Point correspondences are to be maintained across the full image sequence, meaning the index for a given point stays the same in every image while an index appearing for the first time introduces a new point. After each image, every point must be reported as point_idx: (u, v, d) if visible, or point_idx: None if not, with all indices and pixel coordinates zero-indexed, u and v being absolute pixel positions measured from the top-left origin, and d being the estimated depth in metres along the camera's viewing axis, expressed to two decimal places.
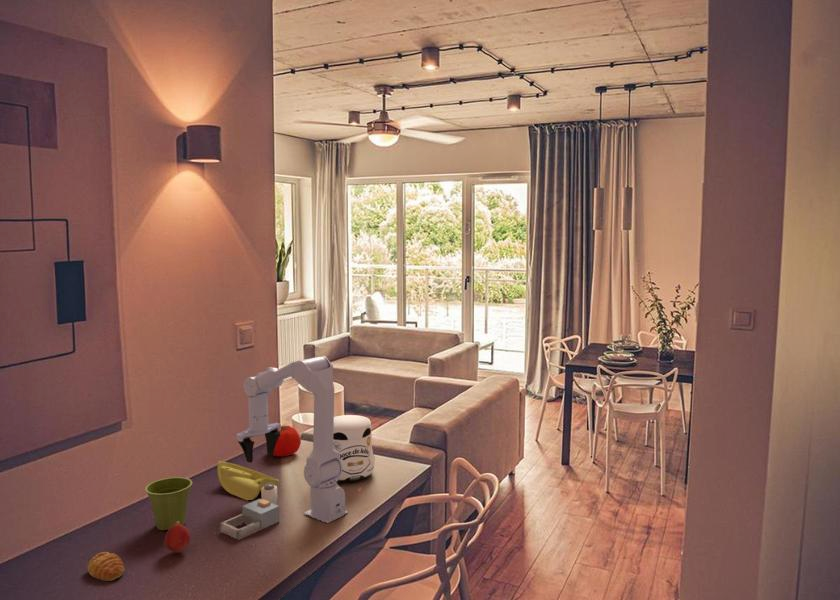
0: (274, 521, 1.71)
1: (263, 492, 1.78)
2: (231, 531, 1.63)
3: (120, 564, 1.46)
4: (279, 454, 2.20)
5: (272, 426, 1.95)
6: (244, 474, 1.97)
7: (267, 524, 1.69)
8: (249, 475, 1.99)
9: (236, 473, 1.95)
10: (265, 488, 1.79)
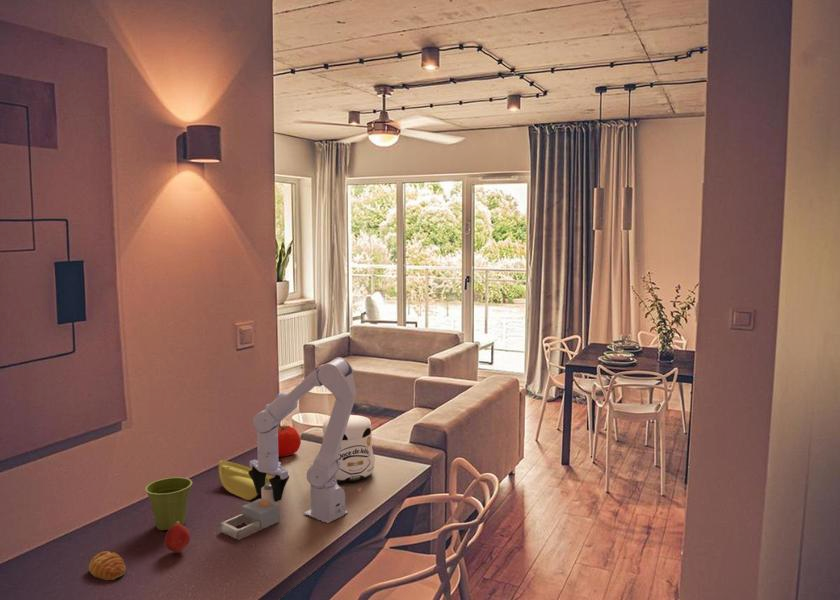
0: (274, 521, 1.71)
1: (263, 492, 1.78)
2: (231, 531, 1.63)
3: (121, 563, 1.47)
4: (279, 454, 2.20)
5: None
6: (245, 473, 1.97)
7: (267, 524, 1.69)
8: None
9: (237, 472, 1.95)
10: (265, 488, 1.79)
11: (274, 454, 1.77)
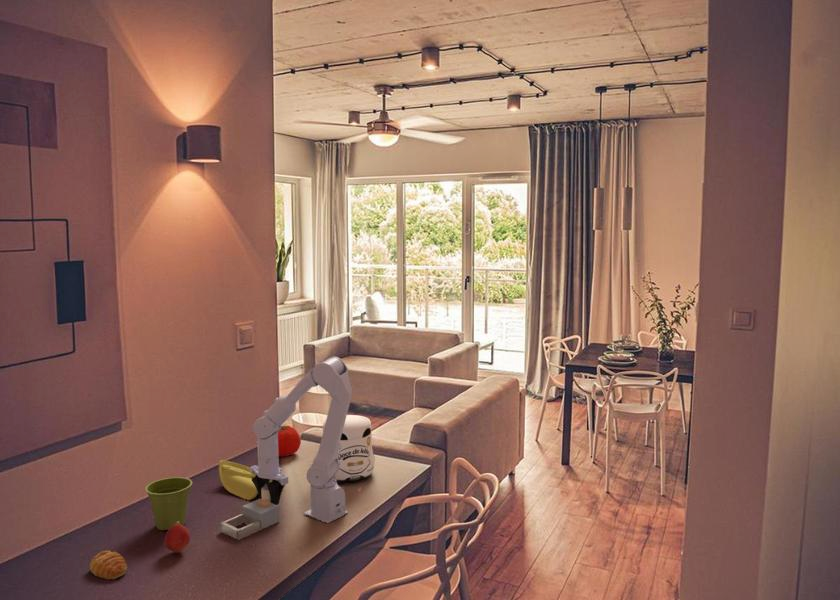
0: (274, 521, 1.71)
1: (263, 492, 1.78)
2: (231, 531, 1.63)
3: (123, 562, 1.47)
4: (279, 454, 2.20)
5: None
6: (245, 473, 1.97)
7: (267, 524, 1.69)
8: (250, 474, 1.99)
9: (237, 472, 1.95)
10: (265, 488, 1.79)
11: (274, 460, 1.77)
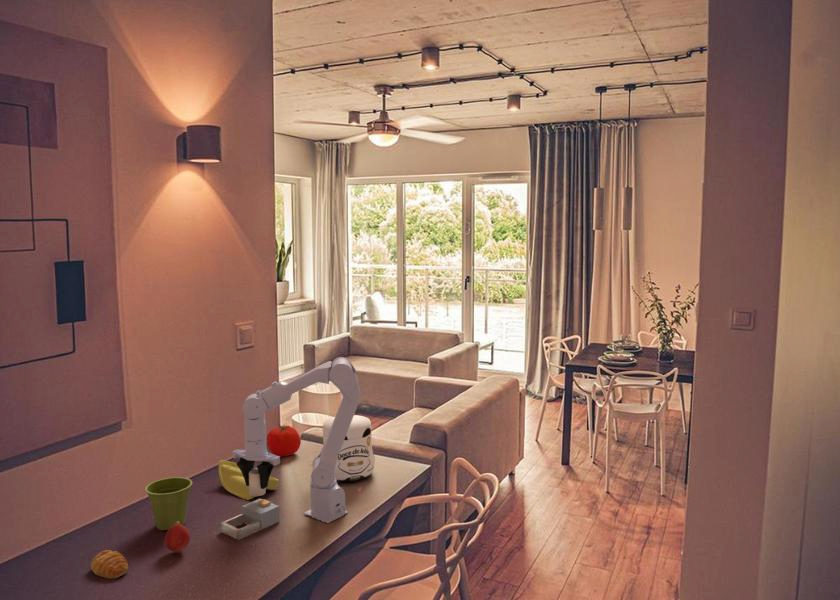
0: (274, 521, 1.71)
1: (252, 476, 1.72)
2: (231, 531, 1.63)
3: (124, 562, 1.47)
4: (279, 454, 2.20)
5: (267, 457, 1.71)
6: None
7: (267, 524, 1.69)
8: None
9: (236, 472, 1.95)
10: (254, 472, 1.73)
11: (264, 441, 1.72)
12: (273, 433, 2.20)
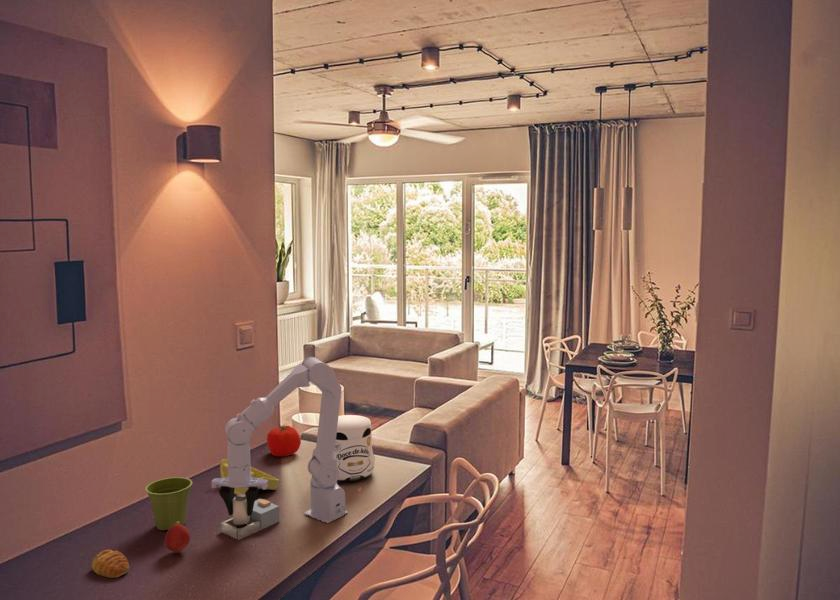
0: (274, 521, 1.71)
1: (238, 504, 1.65)
2: (231, 531, 1.63)
3: (125, 561, 1.48)
4: (279, 454, 2.20)
5: None
6: None
7: (267, 524, 1.69)
8: (251, 474, 2.00)
9: None
10: (239, 499, 1.66)
11: (249, 465, 1.65)
12: (273, 433, 2.20)
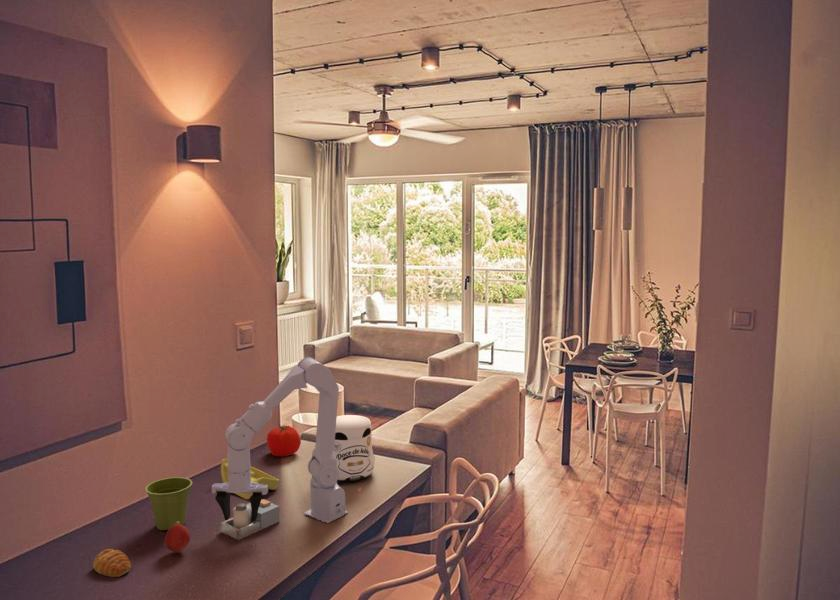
0: (274, 521, 1.71)
1: (238, 514, 1.65)
2: (231, 531, 1.63)
3: (126, 560, 1.48)
4: (279, 454, 2.20)
5: None
6: None
7: (267, 524, 1.69)
8: (252, 473, 2.00)
9: None
10: (239, 509, 1.65)
11: (249, 471, 1.65)
12: (273, 433, 2.20)
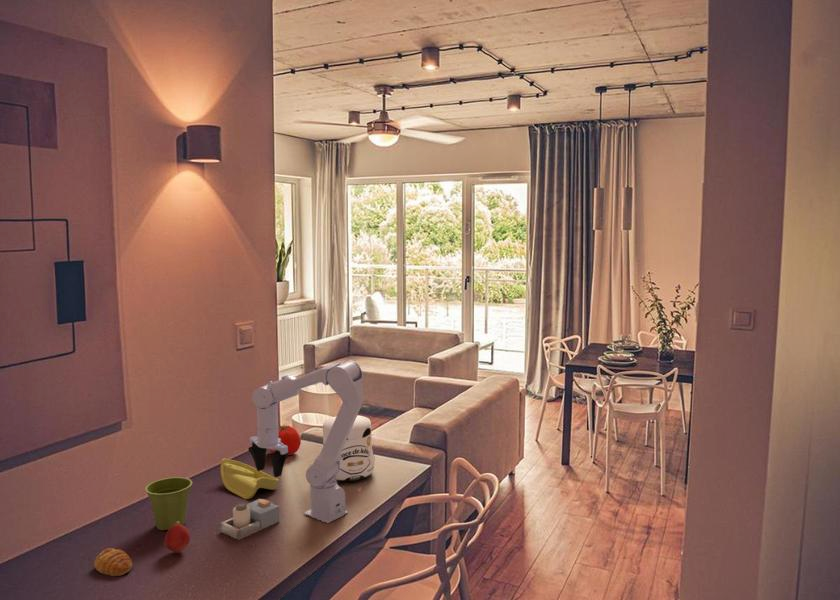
0: (274, 521, 1.71)
1: (238, 514, 1.65)
2: (231, 531, 1.63)
3: (128, 559, 1.49)
4: None
5: (276, 446, 1.77)
6: (246, 472, 1.98)
7: (267, 524, 1.69)
8: (252, 473, 2.00)
9: (238, 471, 1.96)
10: (239, 509, 1.66)
11: (274, 430, 1.78)
12: None
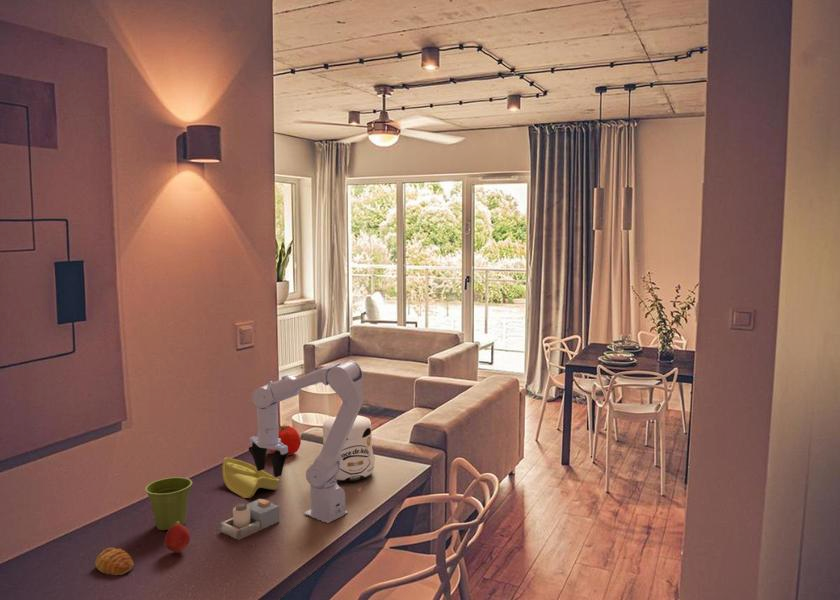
0: (274, 521, 1.71)
1: (238, 514, 1.65)
2: (231, 531, 1.63)
3: (129, 558, 1.49)
4: None
5: (276, 446, 1.77)
6: (247, 472, 1.99)
7: (267, 524, 1.69)
8: (253, 473, 2.00)
9: (239, 470, 1.97)
10: (239, 509, 1.66)
11: (274, 430, 1.78)
12: None
